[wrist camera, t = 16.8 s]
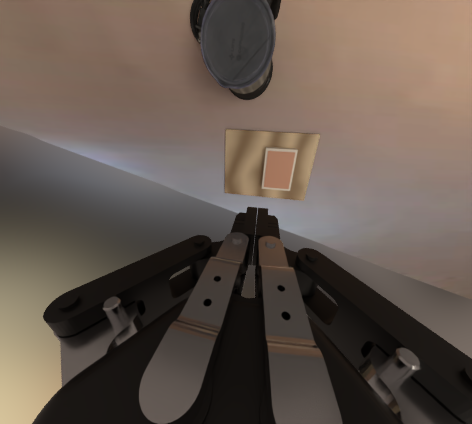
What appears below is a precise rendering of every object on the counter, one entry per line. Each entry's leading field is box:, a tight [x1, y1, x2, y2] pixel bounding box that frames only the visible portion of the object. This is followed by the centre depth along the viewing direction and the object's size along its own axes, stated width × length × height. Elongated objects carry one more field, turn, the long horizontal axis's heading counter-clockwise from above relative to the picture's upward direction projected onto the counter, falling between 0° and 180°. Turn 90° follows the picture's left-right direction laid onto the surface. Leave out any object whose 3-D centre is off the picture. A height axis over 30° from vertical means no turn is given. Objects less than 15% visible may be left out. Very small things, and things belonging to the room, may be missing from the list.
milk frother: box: [190, 0, 281, 100], centre depth 26 cm, size 14×16×15 cm
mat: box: [225, 129, 320, 201], centre depth 41 cm, size 20×15×1 cm
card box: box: [262, 147, 298, 191], centre depth 39 cm, size 3×9×6 cm
